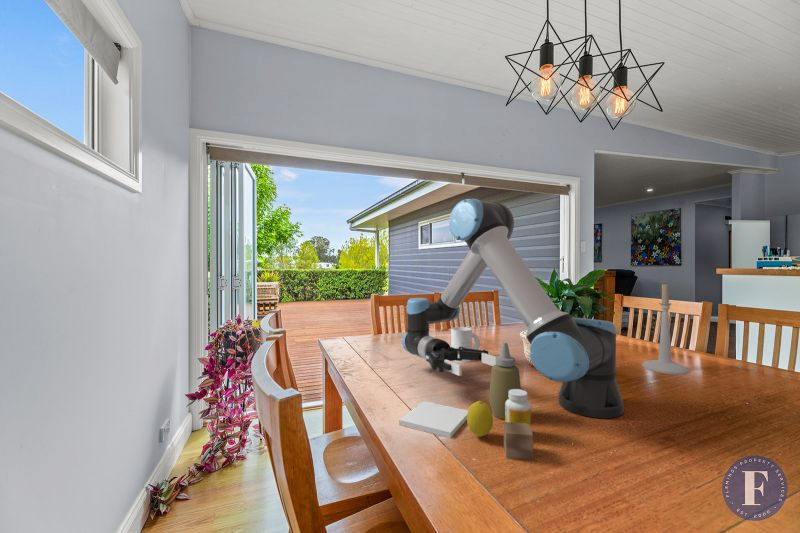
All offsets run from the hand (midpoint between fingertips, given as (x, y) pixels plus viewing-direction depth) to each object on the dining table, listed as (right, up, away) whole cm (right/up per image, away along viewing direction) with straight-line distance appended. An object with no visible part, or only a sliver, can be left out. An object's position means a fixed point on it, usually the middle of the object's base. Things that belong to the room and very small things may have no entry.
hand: (480, 366), depth 99 cm
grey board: (-13, -10, -10) cm, 19 cm away
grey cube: (+2, -11, -25) cm, 27 cm away
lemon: (-4, -11, -19) cm, 22 cm away
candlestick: (+71, -9, +29) cm, 77 cm away
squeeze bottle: (+5, -10, -7) cm, 14 cm away
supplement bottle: (+4, -10, -18) cm, 21 cm away
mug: (+4, -9, +44) cm, 45 cm away
